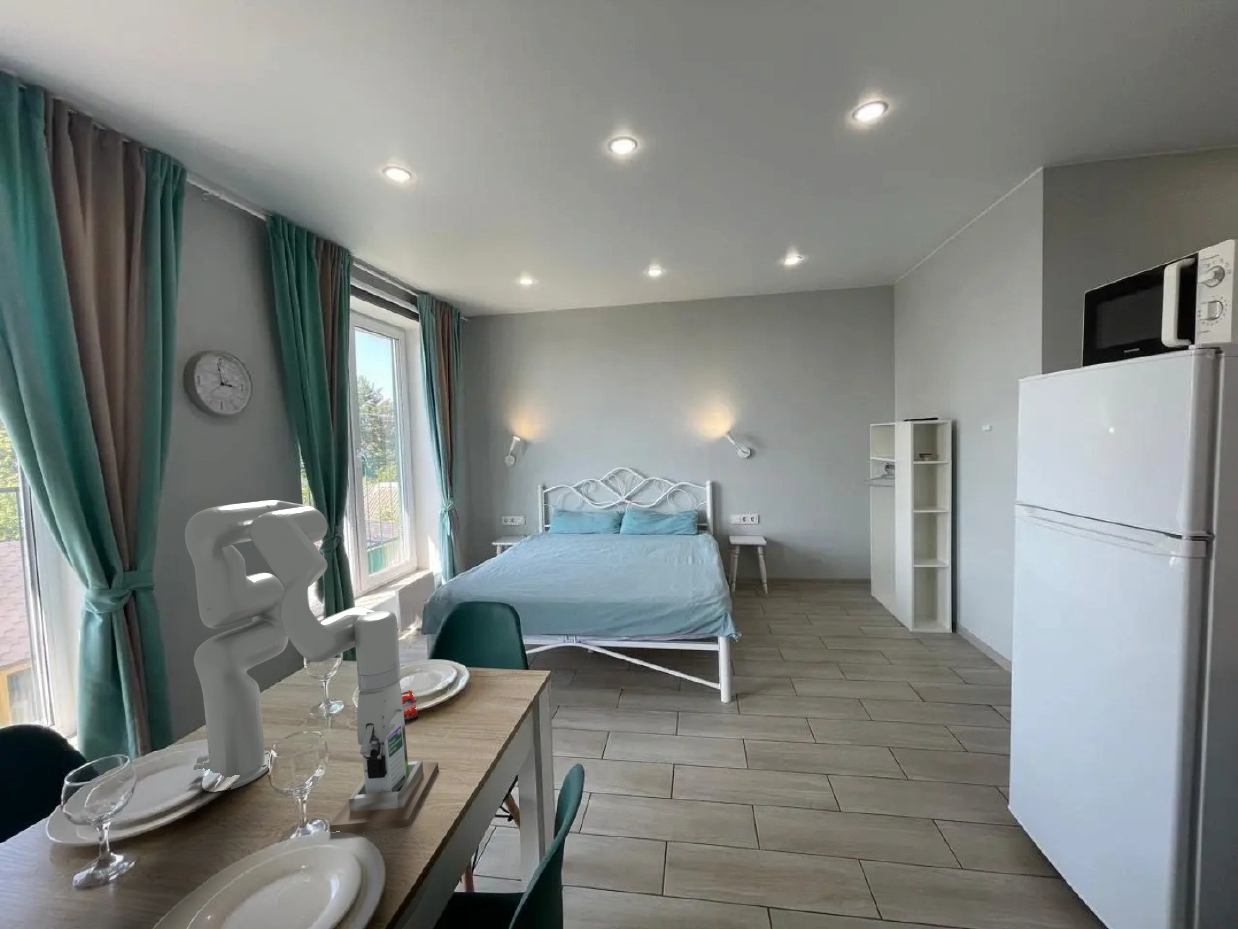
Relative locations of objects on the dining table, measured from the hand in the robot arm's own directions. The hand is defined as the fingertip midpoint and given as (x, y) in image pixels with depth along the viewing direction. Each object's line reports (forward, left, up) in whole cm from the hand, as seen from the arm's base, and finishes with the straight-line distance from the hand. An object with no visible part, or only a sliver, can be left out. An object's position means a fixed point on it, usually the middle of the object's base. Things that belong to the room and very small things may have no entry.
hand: (385, 764), depth 95 cm
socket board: (0, 0, -7) cm, 7 cm away
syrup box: (0, 0, -5) cm, 5 cm away
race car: (-10, +34, -7) cm, 36 cm away
